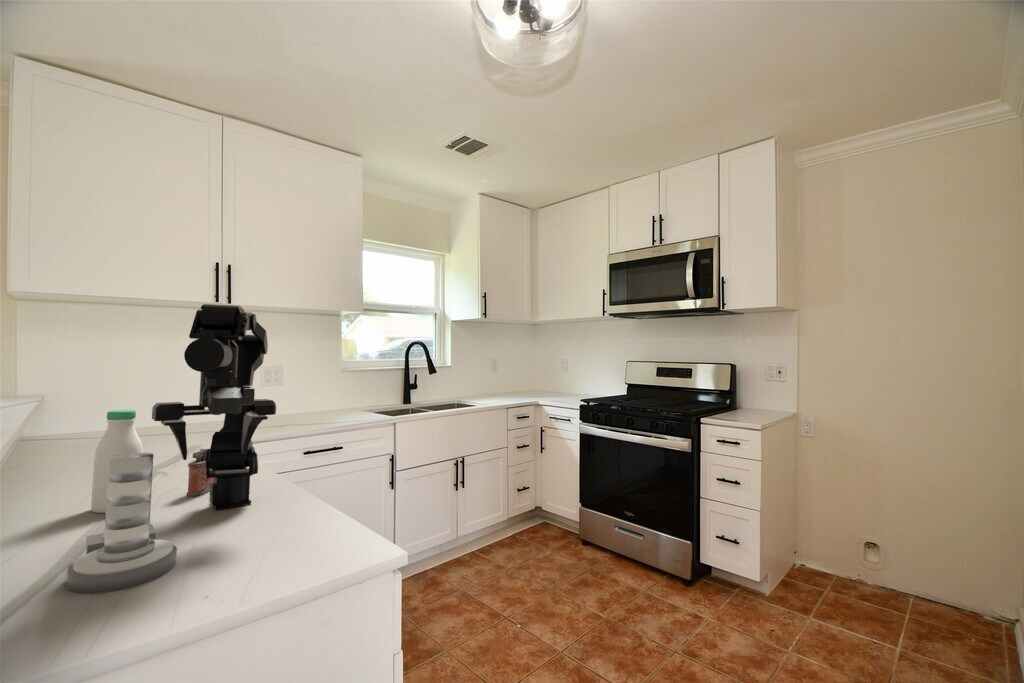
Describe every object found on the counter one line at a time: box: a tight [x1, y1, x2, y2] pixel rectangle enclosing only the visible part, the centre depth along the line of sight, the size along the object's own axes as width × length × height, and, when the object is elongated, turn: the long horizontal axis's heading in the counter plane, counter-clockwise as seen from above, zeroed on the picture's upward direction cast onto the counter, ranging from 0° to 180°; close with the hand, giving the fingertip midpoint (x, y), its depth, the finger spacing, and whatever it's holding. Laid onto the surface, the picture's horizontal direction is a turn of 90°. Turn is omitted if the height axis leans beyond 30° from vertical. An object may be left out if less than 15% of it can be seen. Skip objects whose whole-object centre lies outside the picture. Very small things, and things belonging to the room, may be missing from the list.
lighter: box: [186, 448, 214, 499], centre depth 106 cm, size 8×3×10 cm, turn 5°
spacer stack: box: [97, 452, 155, 563], centre depth 67 cm, size 6×6×14 cm
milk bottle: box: [90, 409, 144, 514], centre depth 95 cm, size 8×8×20 cm
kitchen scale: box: [66, 523, 178, 594], centre depth 68 cm, size 12×16×4 cm
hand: (215, 456), depth 84 cm, fingers open, 9 cm apart
